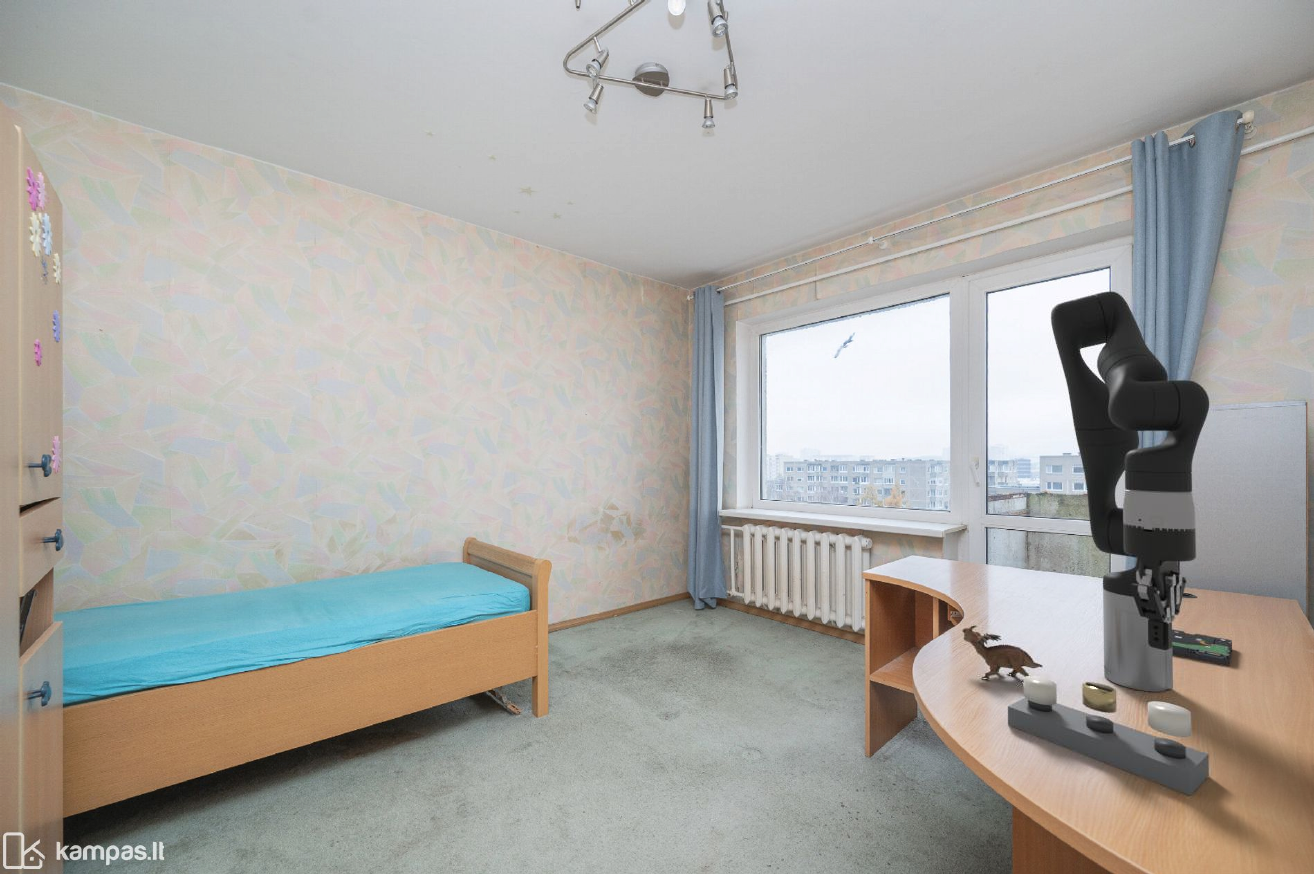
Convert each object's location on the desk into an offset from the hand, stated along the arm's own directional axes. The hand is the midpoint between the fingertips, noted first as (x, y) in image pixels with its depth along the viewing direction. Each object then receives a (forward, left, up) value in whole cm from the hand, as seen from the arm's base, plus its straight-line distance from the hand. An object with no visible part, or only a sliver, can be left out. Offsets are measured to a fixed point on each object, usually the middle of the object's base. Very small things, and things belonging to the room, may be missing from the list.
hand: (1160, 647), depth 78 cm
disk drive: (-46, -51, -18) cm, 71 cm away
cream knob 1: (+9, -12, -13) cm, 20 cm away
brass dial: (+4, -6, -11) cm, 13 cm away
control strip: (+4, -6, -17) cm, 19 cm away
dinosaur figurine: (+5, -32, -17) cm, 37 cm away
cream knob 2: (-1, 0, -11) cm, 11 cm away
